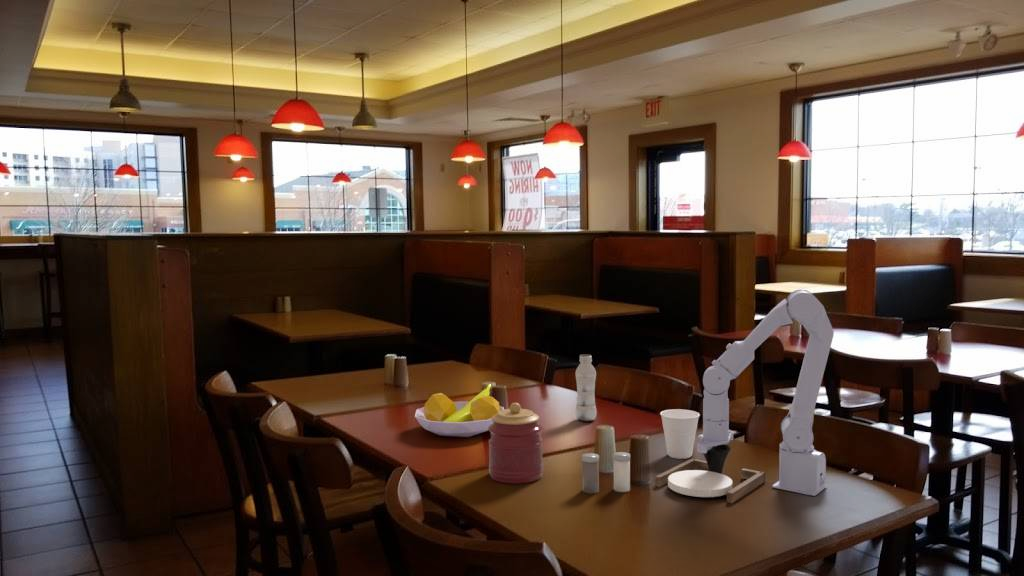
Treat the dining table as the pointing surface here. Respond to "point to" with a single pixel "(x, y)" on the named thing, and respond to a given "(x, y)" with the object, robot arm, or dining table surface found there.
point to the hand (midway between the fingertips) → (715, 476)
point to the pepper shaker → (590, 473)
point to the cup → (679, 432)
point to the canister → (515, 446)
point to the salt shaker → (621, 471)
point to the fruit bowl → (458, 414)
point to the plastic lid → (700, 483)
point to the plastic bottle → (585, 389)
